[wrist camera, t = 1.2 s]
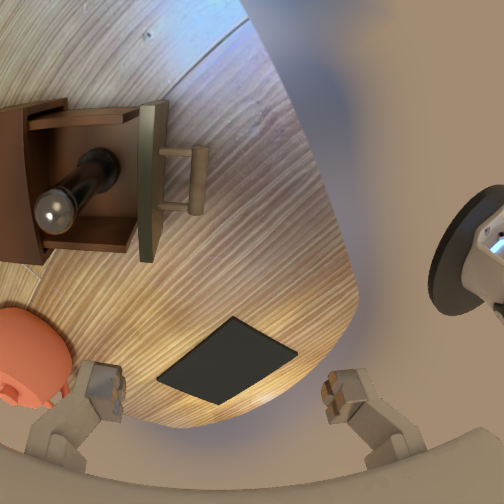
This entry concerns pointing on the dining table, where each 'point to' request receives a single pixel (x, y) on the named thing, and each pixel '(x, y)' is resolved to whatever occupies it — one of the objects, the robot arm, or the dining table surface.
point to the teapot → (31, 360)
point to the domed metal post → (76, 190)
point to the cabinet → (20, 185)
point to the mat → (227, 363)
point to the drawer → (130, 178)
